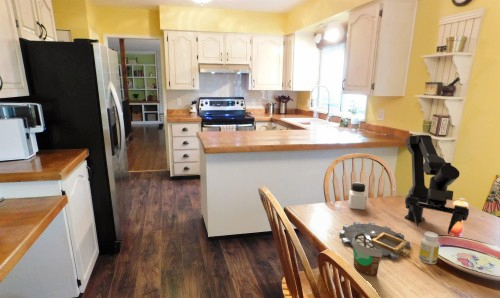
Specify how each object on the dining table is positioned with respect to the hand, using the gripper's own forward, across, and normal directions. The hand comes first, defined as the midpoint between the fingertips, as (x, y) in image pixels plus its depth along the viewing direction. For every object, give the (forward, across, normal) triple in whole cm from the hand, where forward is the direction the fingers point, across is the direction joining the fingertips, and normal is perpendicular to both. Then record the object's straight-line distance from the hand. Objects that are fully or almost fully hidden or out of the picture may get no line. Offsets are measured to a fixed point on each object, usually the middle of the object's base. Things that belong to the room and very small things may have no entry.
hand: (432, 229), depth 99 cm
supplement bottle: (+9, 0, +5) cm, 11 cm away
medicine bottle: (-14, -32, +28) cm, 45 cm away
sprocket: (+7, -18, +7) cm, 21 cm away
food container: (+22, -18, -7) cm, 30 cm away
